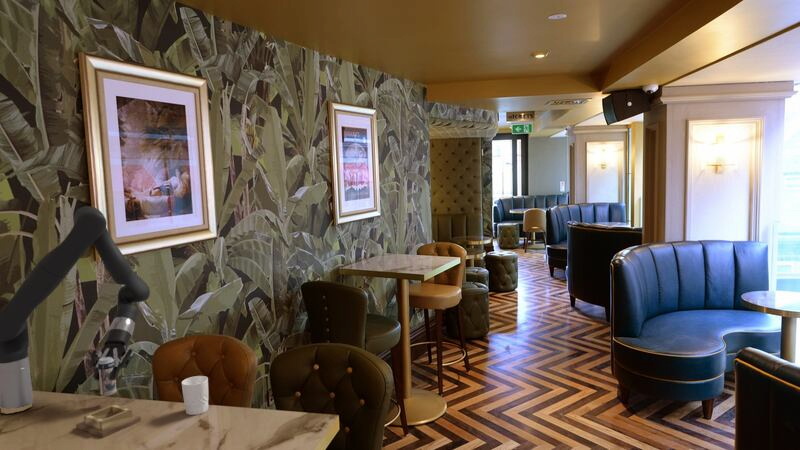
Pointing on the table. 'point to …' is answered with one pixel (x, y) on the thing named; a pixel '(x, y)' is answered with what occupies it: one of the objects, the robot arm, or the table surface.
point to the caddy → (108, 420)
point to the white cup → (195, 394)
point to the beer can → (106, 376)
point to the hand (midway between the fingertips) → (104, 379)
